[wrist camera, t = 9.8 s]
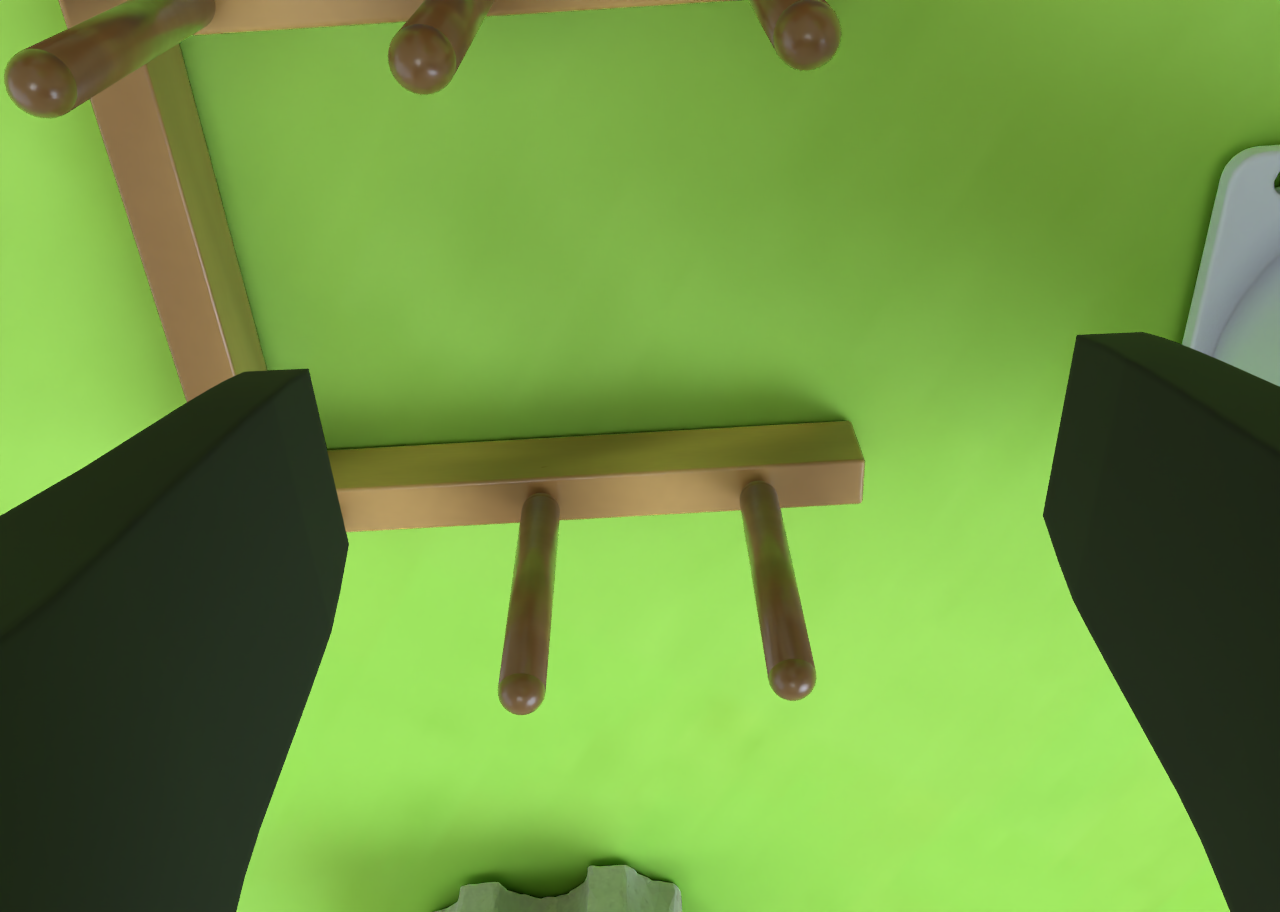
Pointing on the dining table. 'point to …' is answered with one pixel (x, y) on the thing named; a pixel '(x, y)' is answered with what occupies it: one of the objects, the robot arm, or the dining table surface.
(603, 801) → the dining table surface
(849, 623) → the dining table surface
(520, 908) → the egg carton
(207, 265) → the drying rack
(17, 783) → the robot arm
